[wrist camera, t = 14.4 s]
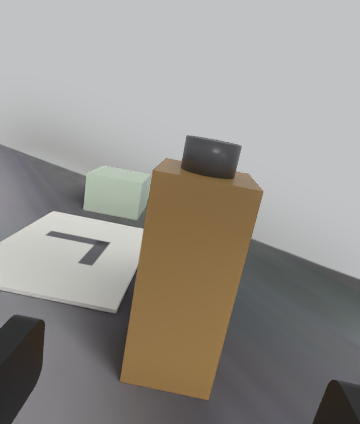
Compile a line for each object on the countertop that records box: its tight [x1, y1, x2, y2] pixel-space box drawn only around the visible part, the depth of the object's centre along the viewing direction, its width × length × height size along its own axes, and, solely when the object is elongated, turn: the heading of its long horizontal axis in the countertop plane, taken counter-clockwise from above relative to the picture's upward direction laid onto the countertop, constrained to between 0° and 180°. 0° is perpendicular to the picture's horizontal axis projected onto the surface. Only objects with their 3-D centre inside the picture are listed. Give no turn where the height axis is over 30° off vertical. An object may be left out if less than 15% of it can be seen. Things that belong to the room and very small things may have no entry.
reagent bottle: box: [120, 136, 263, 400], centre depth 16 cm, size 5×5×12 cm
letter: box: [0, 211, 144, 314], centre depth 29 cm, size 12×16×1 cm
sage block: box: [83, 166, 151, 220], centre depth 43 cm, size 7×7×5 cm
